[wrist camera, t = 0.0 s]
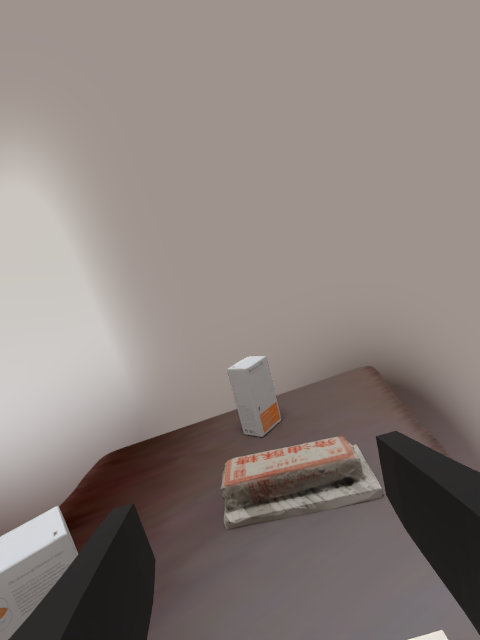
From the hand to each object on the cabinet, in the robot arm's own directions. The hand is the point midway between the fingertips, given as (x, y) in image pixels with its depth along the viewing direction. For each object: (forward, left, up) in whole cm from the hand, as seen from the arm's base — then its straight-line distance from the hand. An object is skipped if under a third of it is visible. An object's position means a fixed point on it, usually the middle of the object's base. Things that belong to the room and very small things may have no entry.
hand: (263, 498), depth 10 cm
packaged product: (+31, -3, -22) cm, 38 cm away
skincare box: (+49, -1, -22) cm, 54 cm away
